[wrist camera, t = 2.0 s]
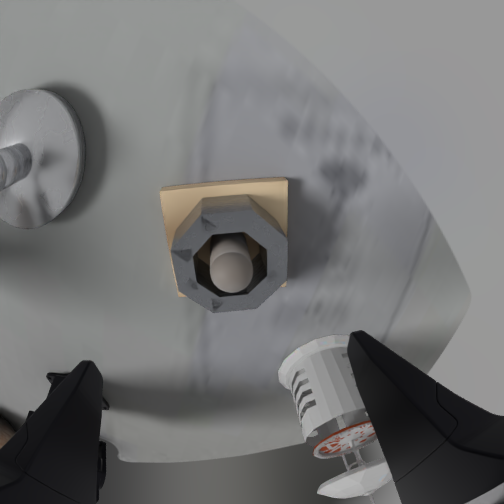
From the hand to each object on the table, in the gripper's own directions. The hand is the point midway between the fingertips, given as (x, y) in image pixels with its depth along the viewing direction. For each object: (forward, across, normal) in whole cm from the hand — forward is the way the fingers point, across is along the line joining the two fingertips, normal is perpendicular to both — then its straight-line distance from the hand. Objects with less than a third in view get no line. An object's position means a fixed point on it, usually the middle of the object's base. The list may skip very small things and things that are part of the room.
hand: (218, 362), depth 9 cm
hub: (+12, +13, -7) cm, 19 cm away
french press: (+12, -9, +19) cm, 24 cm away
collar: (+11, -1, +1) cm, 11 cm away
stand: (+12, -1, +1) cm, 12 cm away
